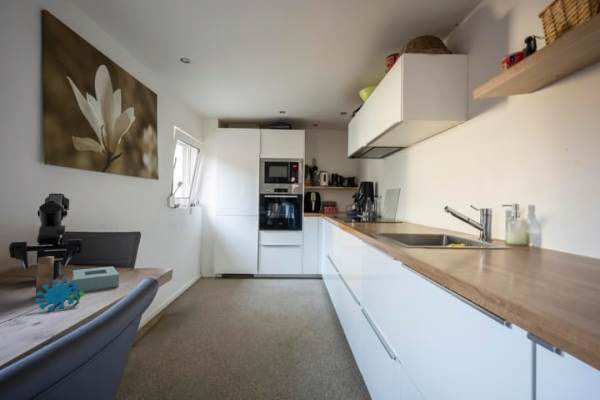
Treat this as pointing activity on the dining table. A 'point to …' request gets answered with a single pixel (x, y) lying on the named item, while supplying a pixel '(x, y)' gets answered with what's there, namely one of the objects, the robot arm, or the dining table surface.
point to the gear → (59, 294)
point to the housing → (95, 278)
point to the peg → (44, 273)
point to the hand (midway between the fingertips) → (45, 268)
